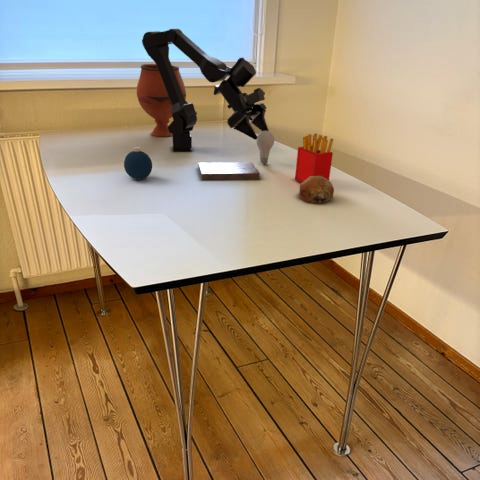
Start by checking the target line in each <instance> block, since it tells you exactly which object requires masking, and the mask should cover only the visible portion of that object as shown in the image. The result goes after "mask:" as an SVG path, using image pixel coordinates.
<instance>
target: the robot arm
mask: <svg viewBox="0 0 480 480" xmlns="http://www.w3.org/2000/svg"><path fill="white" fill-rule="evenodd" d="M141 43H142V47H143V48H144V50H145V52H146V54H147V55H148V56H149V57H150V58H151V60H152V61H153V62H154V64H156V65H157V68H158V70H159V73H160V75H161V78H162V80H163V83H164V85H165V88H166V91H167V93H168V96H169V98H170V101H171V103H172V121H171V122H170V124H169V125H168V130H169V133H172V136H171V138H172V145H171V148H172V152H192V149H193V138H192V137H193V136H192V135H191V132H192V131H193V130H194V127H195V126H196V124H197V121H198V117H197V115H198V112H197V111H196V109H195V105H194V103H193V102H190V103H188V101H187V100H185V99H184V96H183V93H182V91H181V88H180V86H179V83H178V80H177V78H176V75H175V73H174V70H173V67H172V66H173V64H172V63H171V60H170V45H174V46H175V47H176V48H177V49H178V50H179V51H181V53H182V54H184V55H185V56H186V57H187V58H188V59H190V60H191V61H192V62H193V63H194V64H195V65H196V66H197V67H198V69H199V70H200V73H201V74H202V75H203V77H204V78H205V79H206V80H207V81H208V82H209V83H217V82H220V83H219V84H216V85H213V89H214V90H213V95H214V96H218V95H220V94H221V95H222V97H223V99H224V100H225V101H226V103H227V106H226V107H227V108H228V109H229V110H230V109H231V110H232V111H233V113H231V115H230V116H229V117H228V118H227V126H228V127H229V128H230V129H233V130H234V131H235V130H236V131H238V132H239V133H242V134H243V135H246V136H247V137H249V138H251V139H253V140H254V141H256V139H257V138H258V137H257V135H258V134H257V133H256V132H255V130H254V128H253V126H252V125H254V126H255V127H256V128H257V129H259V130H260V132H262V131H269V132H270V130H269V127H268V124H267V121H266V118H265V115H266V112H267V106H266V105H265V103H264V102H262V101H265V100H266V98H265V95H266V92H265V91H264V89H262V88H261V87H258V88H254V89H253V92H251V93H249V94H248V93H247V92H243V91H241V89H240V87H241V88H244V87H245V86H246V85H247V84H248V83H249V82H250V81H251V80H253V78H254V77H255V76H256V74H257V71H256V68H255V66H253V64H252V63H250V62H249V61H248V60H247V59H245V57H243V56H242V57H238V59H237V60H236V62H235V64H234V65H232V67H230V66H228V65H227V64H226V62H223V61H221V60H220V59H218V58H217V57H214V56H211V55H209V54H208V53H206V52H205V51H204V50H203V49H202V48H201V47H200V46H199V45H197V44H196V43H195V42H194V41H192V40H191V39H190V38H189V37H188V36H187V35H186V34H185V33H184V32H183V31H182V30H181V29H180V28H169V29H167V30H164V31H157V30H156V31H155V30H154V31H147V32H145V33H144V34H143V36H142V39H141ZM250 121H251V122H250ZM251 124H252V125H251Z"/></svg>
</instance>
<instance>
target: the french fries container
mask: <svg viewBox="0 0 480 480" xmlns="http://www.w3.org/2000/svg"><path fill="white" fill-rule="evenodd" d="M333 143H334V138H330V139H328V136H327V135H323V134H318V133H317V132H316V133H313V135H312V134H311V133H310V134H309V133H308V134H307V135H305V136H303V137H302V145H303V146H298V147H297V156H296V165H295V172H294V173H295V174H294V175H295V176H294V180H295V181H297V182H299V183H300V184H301V183H302V182H304V181H305V180H306V179H308V177H309V176H321V177H324V178H326V179H328V180H329V181H330V176H331V168H332V164H333V163H332V162H333V155H334V153H333V152H334V151H331V149H332V146H333ZM327 146H328V147H327Z"/></svg>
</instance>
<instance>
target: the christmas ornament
mask: <svg viewBox="0 0 480 480" xmlns="http://www.w3.org/2000/svg"><path fill="white" fill-rule="evenodd" d="M123 168H124V171H125V173H126V174H127V175H128V176H129V177H130V178H131V179H134V180H137V181H139V180H144V179H146V178H148V177H149V176H150V175H151V173H152V170H153V161H152V159H151V157H150V156H149V155H148V154H147V152H145V151H143V150H141V147H140V146H134V147H133V150H132V151H129V152H128V153H127V154H126V156H125V157H124V160H123Z"/></svg>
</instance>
